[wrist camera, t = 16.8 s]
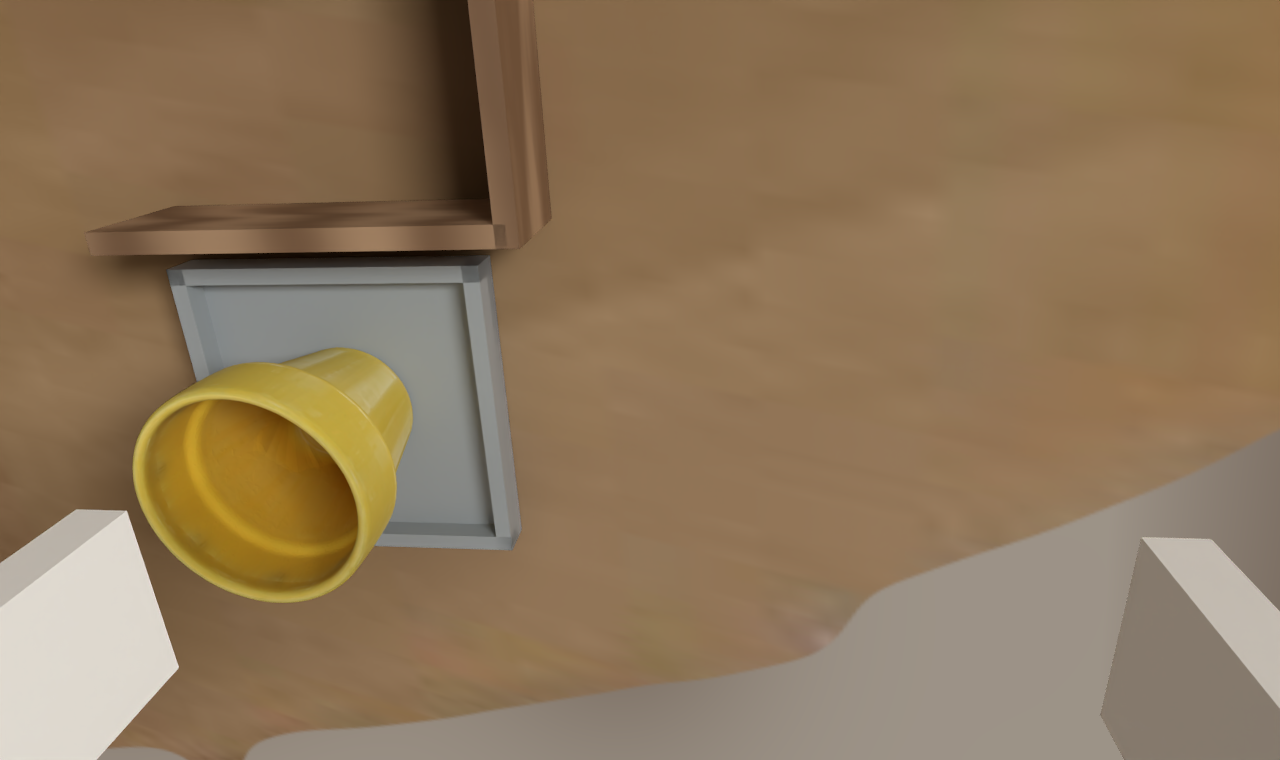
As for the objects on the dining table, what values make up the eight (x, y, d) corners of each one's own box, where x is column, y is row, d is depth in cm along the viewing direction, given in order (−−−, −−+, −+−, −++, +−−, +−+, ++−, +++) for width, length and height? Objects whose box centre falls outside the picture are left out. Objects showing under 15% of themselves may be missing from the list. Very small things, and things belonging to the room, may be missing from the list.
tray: (260, 522, 47) (240, 541, 45) (191, 259, 41) (166, 269, 39) (521, 529, 45) (512, 550, 43) (489, 255, 39) (477, 265, 37)
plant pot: (272, 484, 45) (156, 595, 36) (241, 306, 41) (101, 381, 32) (454, 499, 44) (380, 617, 35) (440, 318, 40) (353, 399, 31)
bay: (179, 226, 40) (91, 255, 35) (88, -122, 35) (-35, -153, 29) (551, 218, 38) (519, 248, 33) (519, -156, 32) (474, -196, 27)
